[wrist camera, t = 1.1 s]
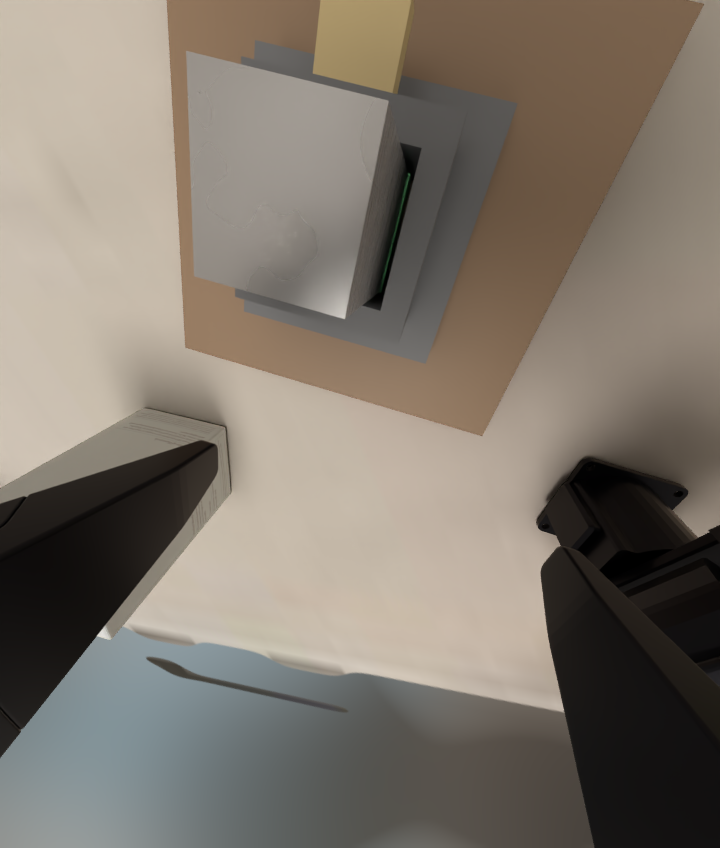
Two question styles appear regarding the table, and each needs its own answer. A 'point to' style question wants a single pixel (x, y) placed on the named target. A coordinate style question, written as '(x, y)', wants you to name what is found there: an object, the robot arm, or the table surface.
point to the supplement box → (125, 445)
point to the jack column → (292, 186)
